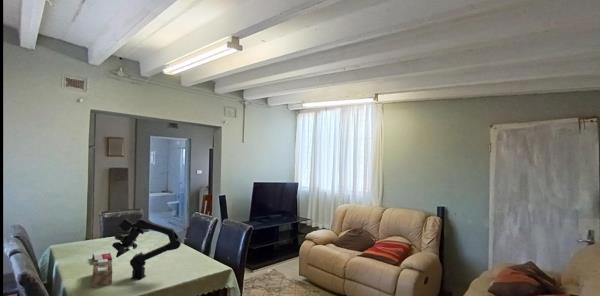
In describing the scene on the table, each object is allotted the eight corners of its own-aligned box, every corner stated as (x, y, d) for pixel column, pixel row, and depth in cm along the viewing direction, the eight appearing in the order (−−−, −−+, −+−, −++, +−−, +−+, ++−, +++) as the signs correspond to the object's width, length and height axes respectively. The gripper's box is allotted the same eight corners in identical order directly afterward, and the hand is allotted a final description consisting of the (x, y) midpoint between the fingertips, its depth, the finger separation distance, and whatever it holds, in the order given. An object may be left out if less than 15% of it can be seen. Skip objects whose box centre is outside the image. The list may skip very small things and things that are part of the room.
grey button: (107, 263, 212) (107, 258, 212) (107, 266, 207) (107, 261, 207) (97, 264, 209) (98, 259, 209) (97, 267, 205) (98, 262, 205)
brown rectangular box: (110, 272, 215) (111, 259, 216) (111, 284, 196) (112, 270, 197) (92, 274, 210) (93, 261, 210) (91, 287, 191) (92, 273, 192)
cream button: (107, 271, 202) (107, 266, 202) (107, 274, 198) (107, 269, 198) (97, 273, 200) (97, 268, 200) (97, 275, 195) (97, 270, 195)
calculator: (94, 259, 228) (92, 252, 240) (93, 265, 228) (92, 258, 240) (112, 257, 234) (109, 250, 246) (111, 263, 234) (109, 256, 247)
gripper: (131, 228, 219) (116, 248, 217) (114, 229, 201) (97, 250, 199) (143, 238, 217) (128, 258, 215) (127, 239, 199) (110, 261, 197)
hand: (116, 257), depth 206 cm, fingers closed
